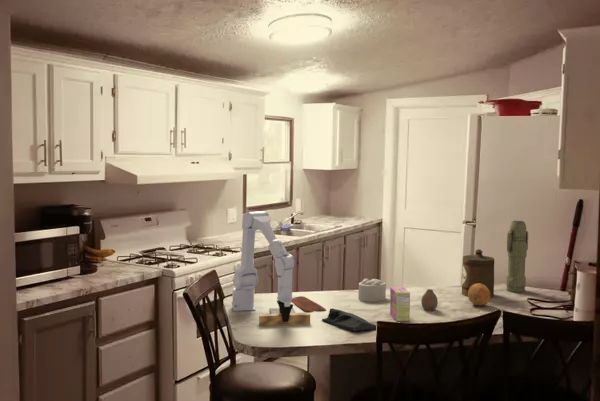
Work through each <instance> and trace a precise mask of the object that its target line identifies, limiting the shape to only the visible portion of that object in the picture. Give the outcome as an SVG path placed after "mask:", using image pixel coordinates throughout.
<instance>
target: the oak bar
mask: <svg viewBox="0 0 600 401" xmlns="http://www.w3.org/2000/svg"><path fill="white" fill-rule="evenodd" d="M258 325H259V326H262V327H263V326H264V327H265V326H284V325H285V326H288V325H292V326H293V325H311V312H295V313H290V316H289V320H288V322H283V320H282V314H281V313H280V314H271V313H259V314H258Z"/></svg>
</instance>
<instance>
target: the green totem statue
mask: <svg viewBox="0 0 600 401" xmlns="http://www.w3.org/2000/svg"><path fill="white" fill-rule="evenodd" d="M510 223H511V224H510V226H509V230H508V231H507V235H506V236H507V238H506V239H507V241H506V251H507V256H508V260H507V262H508V264H507V275H506V282H505V285H506V291H508V292H510V293H517V294H518V293H519V294H520V293H525V292H526V279H527V278H526V275H525V274H526V258H527V253H528V252H527V251H528V249H529V248H528V247H529V232H528V230H527V225H526V222H525V221H522V220H513V221H511V222H510Z"/></svg>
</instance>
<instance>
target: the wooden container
mask: <svg viewBox="0 0 600 401" xmlns="http://www.w3.org/2000/svg"><path fill="white" fill-rule="evenodd" d="M461 273H462V275H461V294H462V295H463V296H466V297H468V290H469V288H470V287H471V286H472V285H473V284H477V283H480V284H483V285H485V286H486V287H487V288H488V289H489V291H490V298H493V297H494V296H495V295H494V294H495V293H494V292H495V289H494V288H495V257H492V256H487V255H484V254H483V250H481V249H476V250H475V254H468V255H464V256H463V257H462V272H461Z"/></svg>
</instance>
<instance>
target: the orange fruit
mask: <svg viewBox="0 0 600 401" xmlns="http://www.w3.org/2000/svg"><path fill="white" fill-rule="evenodd" d="M467 299H468V300H469V302H470V303H471V304H473V305H474V306H478V307H479V306H481V307H482V306H485V305H487V304H488V303H489V301H490V300H491V297H490V291H489V289H488V288H487V287H486V286H485V285H483V284H480V283H477V284H473V285H472V286H471V287H470V288H469V290H468V296H467Z"/></svg>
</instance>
